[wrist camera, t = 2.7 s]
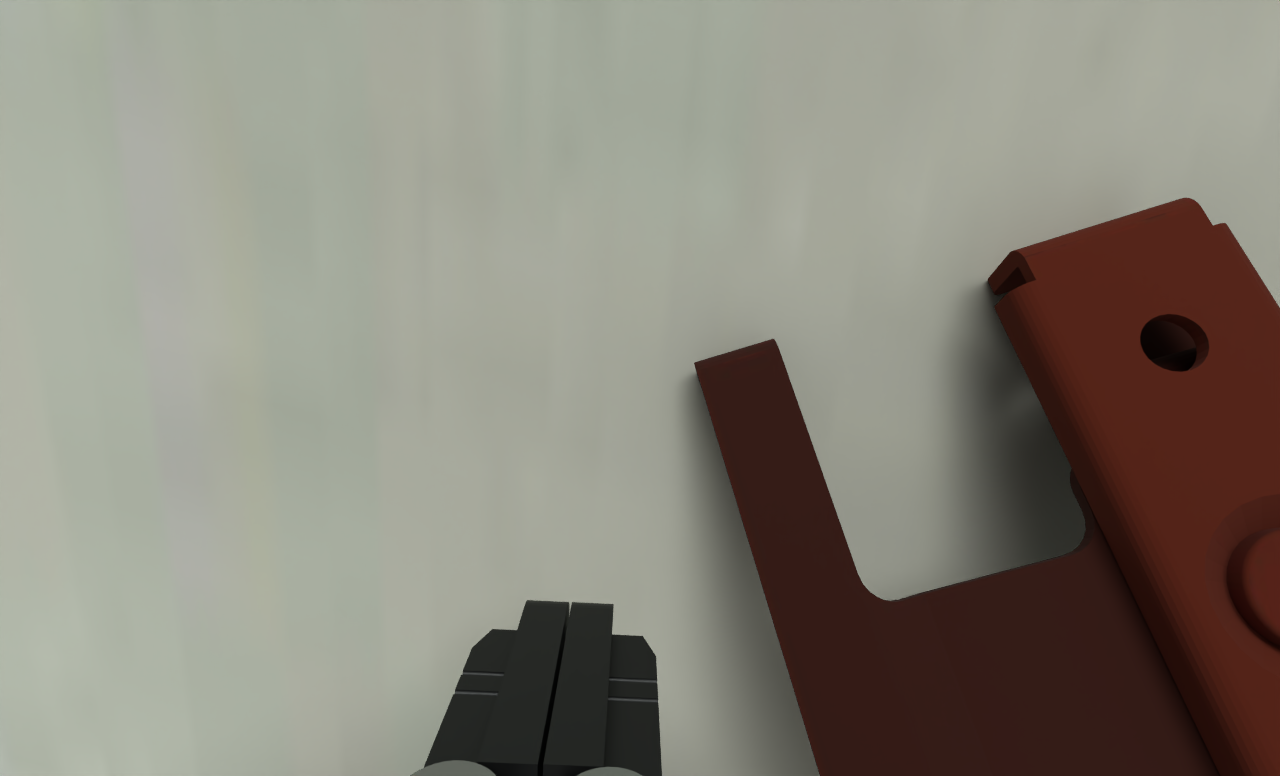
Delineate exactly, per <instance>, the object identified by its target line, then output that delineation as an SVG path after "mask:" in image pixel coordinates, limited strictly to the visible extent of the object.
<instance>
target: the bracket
mask: <svg viewBox="0 0 1280 776" xmlns="http://www.w3.org/2000/svg"><path fill="white" fill-rule="evenodd" d="M988 282H989V284H990V286H991V288H992V290H993V292H994V294H995V295H1000V294H1003V293H1006V292H1009V291H1010V292H1009V293H1007V294H1006V295H1005V296H1004V297H1003V298H1002V299H1001V300H1000V301H999V302H998V303H997V304H996V305H995V306H994V308H995V310H996V312H997V314H998V316H999V318H1000V320H1001V322H1002V324H1003V327H1004V329H1005V331H1006V333H1007V335H1008V337H1009V339H1010V341H1011V343H1012V345H1013V347H1014V349H1015V351H1016V353H1017V356H1018V358H1019V360H1020V362H1021V364H1022V366H1023V368H1024V370H1025V372H1026V374H1027V376H1028V378H1029V380H1030V382H1031V385H1032V387H1033V389H1034V391H1035V393H1036V395H1037V397H1038V399H1039V401H1040V403H1041V405H1042V407H1043V409H1044V411H1045V414H1046V416H1047V418H1048V420H1049V422H1050V424H1051V426H1052V428H1053V430H1054V432H1055V434H1056V436H1057V438H1058V440H1059V443H1060V445H1061V447H1062V449H1063V451H1064V453H1065V455H1066V457H1067V459H1068V461H1069V463H1070V465H1071V467H1072V469H1071V472H1070V483H1071V487H1072V490H1073V493H1074V495H1075V497H1076V499H1077V501H1078V503H1079V506H1080V508H1081V510H1082V512H1083V515H1084V518H1085V526H1086V531H1085V534H1084V538H1083V540H1082V542H1081V543H1080V545H1079V546H1078V547H1077V548H1076V549H1074V550H1073V551H1072V552H1070V553H1068V554H1065V555H1063V556H1059V557H1055V558H1051V559H1047V560H1044V561H1040V562H1036V563H1032V564H1028V565H1025V566H1021V567H1017V568H1013V569H1010V570H1006V571H1002V572H998V573H994V574H991V575H987V576H983V577H979V578H976V579H972V580H968V581H964V582H960V583H957V584H953V585H949V586H945V587H941V588H938V589H934V590H930V591H926V592H923V593H919V594H915V595H912V596H909V597H906V598H902V599H899V600H893V601H888V600H883V599H880V598H878V597H876V596H875V595H873V594H872V593H871V592H869V591H868V589H867V588H866V587H865V586H864V585H863V583H862V581H861V579H860V577H859V575H858V573H857V570H856V567H855V564H854V562H853V559H852V556H851V553H850V550H849V547H848V544H847V542H846V539H845V536H844V533H843V530H842V527H841V524H840V522H839V519H838V516H837V513H836V510H835V507H834V505H833V502H832V499H831V496H830V493H829V490H828V487H827V485H826V482H825V479H824V476H823V473H822V470H821V468H820V465H819V462H818V459H817V456H816V453H815V450H814V448H813V445H812V442H811V439H810V436H809V433H808V430H807V428H806V425H805V422H804V419H803V416H802V413H801V411H800V408H799V405H798V402H797V399H796V396H795V393H794V391H793V388H792V385H791V382H790V379H789V376H788V373H787V371H786V368H785V365H784V362H783V359H782V356H781V354H780V351H779V348H778V346H777V343H776V341H775V340H774V339H771V340H768V341H764V342H761V343H758V344H754V345H751V346H748V347H745V348H741V349H738V350H735V351H731V352H728V353H725V354H721V355H718V356H715V357H711V358H708V359H705V360H701V361H698V362H695V363H694V364H695V368H696V371H697V375H698V378H699V381H700V384H701V387H702V390H703V393H704V397H705V400H706V403H707V407H708V410H709V413H710V416H711V420H712V423H713V426H714V429H715V433H716V436H717V439H718V443H719V446H720V449H721V452H722V456H723V459H724V462H725V466H726V469H727V472H728V475H729V479H730V482H731V485H732V488H733V492H734V495H735V498H736V502H737V505H738V508H739V511H740V515H741V518H742V521H743V525H744V528H745V531H746V534H747V538H748V541H749V544H750V547H751V551H752V554H753V557H754V561H755V564H756V567H757V570H758V574H759V577H760V580H761V584H762V587H763V590H764V593H765V597H766V600H767V603H768V607H769V610H770V613H771V616H772V620H773V623H774V626H775V629H776V633H777V636H778V639H779V643H780V646H781V649H782V652H783V656H784V659H785V662H786V666H787V669H788V672H789V675H790V679H791V682H792V685H793V688H794V692H795V695H796V698H797V702H798V705H799V708H800V711H801V715H802V718H803V721H804V725H805V728H806V731H807V734H808V738H809V741H810V744H811V747H812V751H813V754H814V757H815V761H816V764H817V767H818V770H819V774H820V776H1280V308H1279V306H1278V305H1277V303H1276V301H1275V300H1274V298H1273V297H1272V295H1271V293H1270V292H1269V290H1268V289H1267V287H1266V286H1265V284H1264V282H1263V281H1262V279H1261V278H1260V276H1259V275H1258V273H1257V271H1256V270H1255V268H1254V267H1253V265H1252V264H1251V262H1250V260H1249V259H1248V257H1247V256H1246V254H1245V252H1244V251H1243V249H1242V248H1241V246H1240V245H1239V243H1238V241H1237V240H1236V238H1235V237H1234V235H1233V234H1232V232H1231V230H1230V229H1229V227H1228V226H1227V224H1226V223H1221V224H1217V225H1214V226H1213V225H1212V224H1211V222H1210V220H1209V219H1208V217H1207V216H1206V214H1205V212H1204V211H1203V209H1202V208H1201V206H1200V205H1199V204H1198V203H1197V202H1196V201H1195V200H1193V199H1190V198H1182V199H1178V200H1175V201H1172V202H1169V203H1165V204H1162V205H1159V206H1156V207H1153V208H1149V209H1146V210H1143V211H1140V212H1137V213H1133V214H1130V215H1127V216H1124V217H1120V218H1117V219H1114V220H1111V221H1108V222H1104V223H1101V224H1098V225H1095V226H1092V227H1088V228H1085V229H1082V230H1079V231H1075V232H1072V233H1069V234H1066V235H1063V236H1059V237H1056V238H1053V239H1050V240H1047V241H1043V242H1040V243H1037V244H1034V245H1030V246H1027V247H1024V248H1021V249H1018V250H1014V251H1012V252H1010V253H1009V254H1008V256H1007V257H1006V258H1005V259H1004V260H1003V261H1002V263H1001V264H1000V265H999V266H998V267H997V269H996V270H995V271H994V272H993V273H992V275H991V276H990V277H989V278H988Z"/></svg>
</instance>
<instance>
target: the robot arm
mask: <svg viewBox="0 0 1280 776" xmlns="http://www.w3.org/2000/svg"><path fill="white" fill-rule="evenodd" d="M612 623H613V604H598V603H577V602H572V605H571V610H570V616H569V602H553V601H532V600H527V601H526V604H525V607H524V610H523V613H522V616H521V620H520V623H519V626H518V629H517V630H498V629H492V630H491V631H490V632H489V633H488V634H487V635H486V636H485V637H483V638H482V639H481V640H480V641H479V642H478V643H477V644H476V645H475V646H474V647H473V648H472V650H471V652H470V655H469V657H468V659H467V662H466V664H465V667H464V669H463V675H461V677H460V679H459V682H458V684H457V687H456V689H455V694H453V697H452V699H451V701H450V704H449V706H448V709H447V711H446V714H445V716H444V719H443V721H442V724H441V726H440V729H439V731H438V734H437V736H436V739H435V741H434V743H433V746H432V748H431V751H430V753H429V756H428V758H427V761H426V763H425V766H424V768H423V769H421V770H419V771H417V772H415V773H413V774H412V775H410V776H662V768H661V748H660V728H659V708H658V688H657V668H656V656H655V654H654V653H653V651H652V649H651V648H650V646H649V645H648V643H647V642H646V640H645V639H644V637H643V636H629V635H612Z"/></svg>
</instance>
